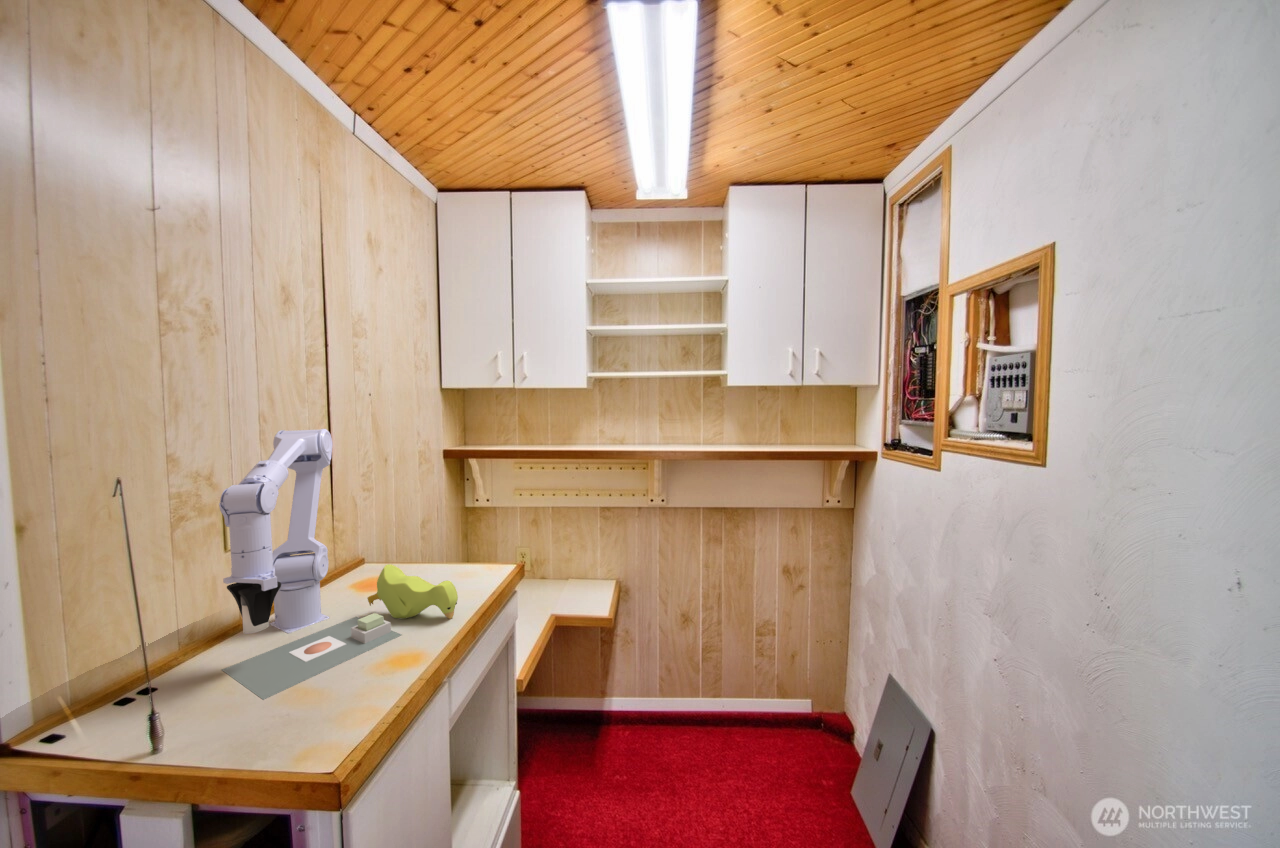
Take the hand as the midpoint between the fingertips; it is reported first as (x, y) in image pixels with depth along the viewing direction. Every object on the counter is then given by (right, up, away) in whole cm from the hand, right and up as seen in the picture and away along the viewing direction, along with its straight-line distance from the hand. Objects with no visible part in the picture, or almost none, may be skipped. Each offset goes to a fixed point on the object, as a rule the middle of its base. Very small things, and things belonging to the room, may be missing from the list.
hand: (256, 621), depth 80 cm
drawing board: (+8, -8, +4) cm, 12 cm away
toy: (+19, -8, +19) cm, 28 cm away
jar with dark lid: (0, -1, 0) cm, 1 cm away
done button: (+15, -6, +10) cm, 19 cm away
